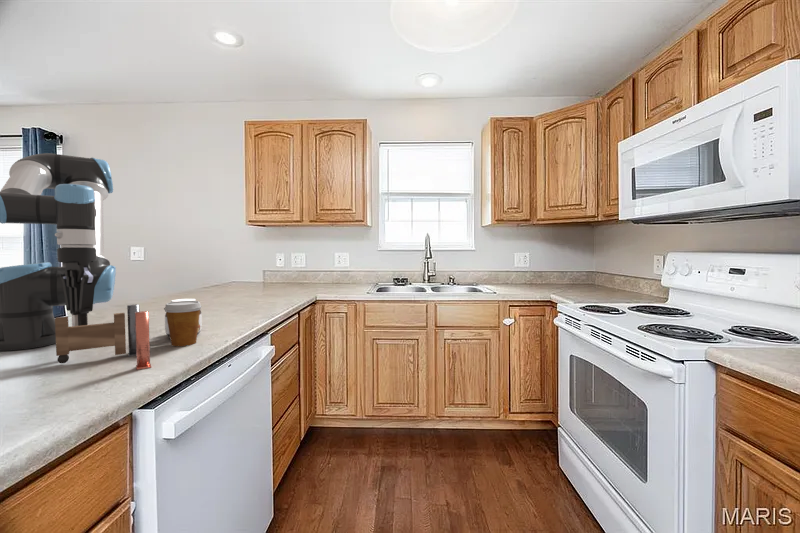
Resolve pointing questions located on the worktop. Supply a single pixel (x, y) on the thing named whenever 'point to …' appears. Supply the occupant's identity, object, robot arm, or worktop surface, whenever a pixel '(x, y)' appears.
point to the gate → (89, 336)
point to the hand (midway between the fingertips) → (80, 339)
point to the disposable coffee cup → (183, 321)
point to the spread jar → (198, 323)
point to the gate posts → (139, 336)
